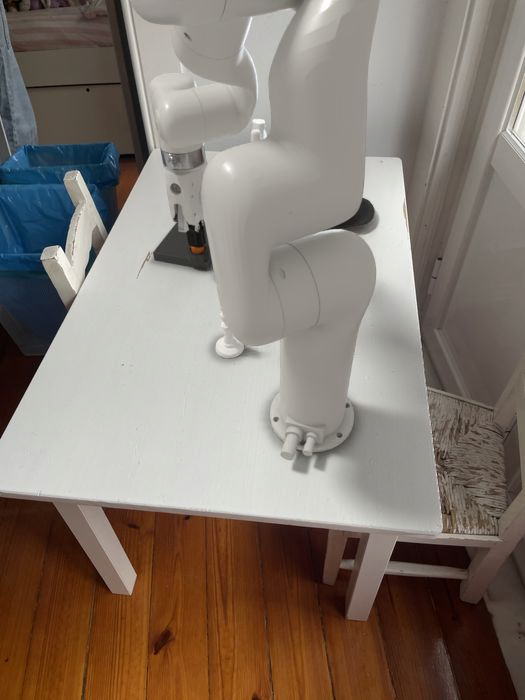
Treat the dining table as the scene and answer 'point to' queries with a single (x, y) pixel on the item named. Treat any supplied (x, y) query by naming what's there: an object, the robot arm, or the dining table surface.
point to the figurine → (258, 130)
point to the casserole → (358, 216)
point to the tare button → (197, 249)
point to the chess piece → (228, 342)
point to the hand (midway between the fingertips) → (197, 244)
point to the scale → (182, 250)
